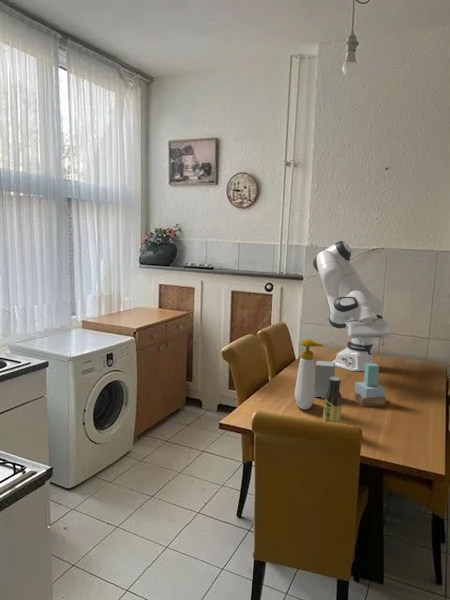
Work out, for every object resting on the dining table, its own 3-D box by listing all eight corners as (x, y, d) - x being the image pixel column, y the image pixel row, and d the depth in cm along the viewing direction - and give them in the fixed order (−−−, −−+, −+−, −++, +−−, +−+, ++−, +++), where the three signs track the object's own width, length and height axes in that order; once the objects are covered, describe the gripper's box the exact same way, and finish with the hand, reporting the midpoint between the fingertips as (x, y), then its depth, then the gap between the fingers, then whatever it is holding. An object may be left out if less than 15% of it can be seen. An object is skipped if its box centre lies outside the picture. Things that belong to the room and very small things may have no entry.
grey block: (354, 390, 194) (355, 382, 194) (372, 389, 197) (373, 381, 196) (365, 398, 186) (366, 389, 185) (384, 397, 188) (385, 388, 187)
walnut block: (353, 398, 196) (353, 389, 195) (374, 398, 197) (375, 389, 197) (362, 407, 186) (363, 398, 186) (384, 406, 187) (385, 397, 187)
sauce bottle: (319, 425, 166) (323, 375, 163) (335, 425, 166) (339, 375, 163) (325, 433, 159) (328, 380, 156) (341, 433, 160) (345, 381, 157)
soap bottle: (319, 414, 176) (324, 344, 172) (293, 411, 178) (297, 342, 174) (318, 402, 189) (323, 336, 184) (294, 400, 191) (298, 335, 186)
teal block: (363, 383, 193) (365, 363, 192) (373, 383, 193) (375, 363, 192) (367, 386, 188) (368, 366, 187) (377, 386, 189) (379, 366, 187)
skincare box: (333, 395, 198) (336, 361, 195) (332, 400, 191) (334, 366, 189) (314, 392, 201) (317, 359, 198) (312, 398, 194) (315, 363, 191)
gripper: (346, 316, 205) (355, 341, 197) (387, 315, 208) (397, 340, 200) (342, 324, 210) (350, 348, 202) (381, 323, 213) (391, 347, 205)
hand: (374, 344), depth 201 cm, fingers open, 8 cm apart
